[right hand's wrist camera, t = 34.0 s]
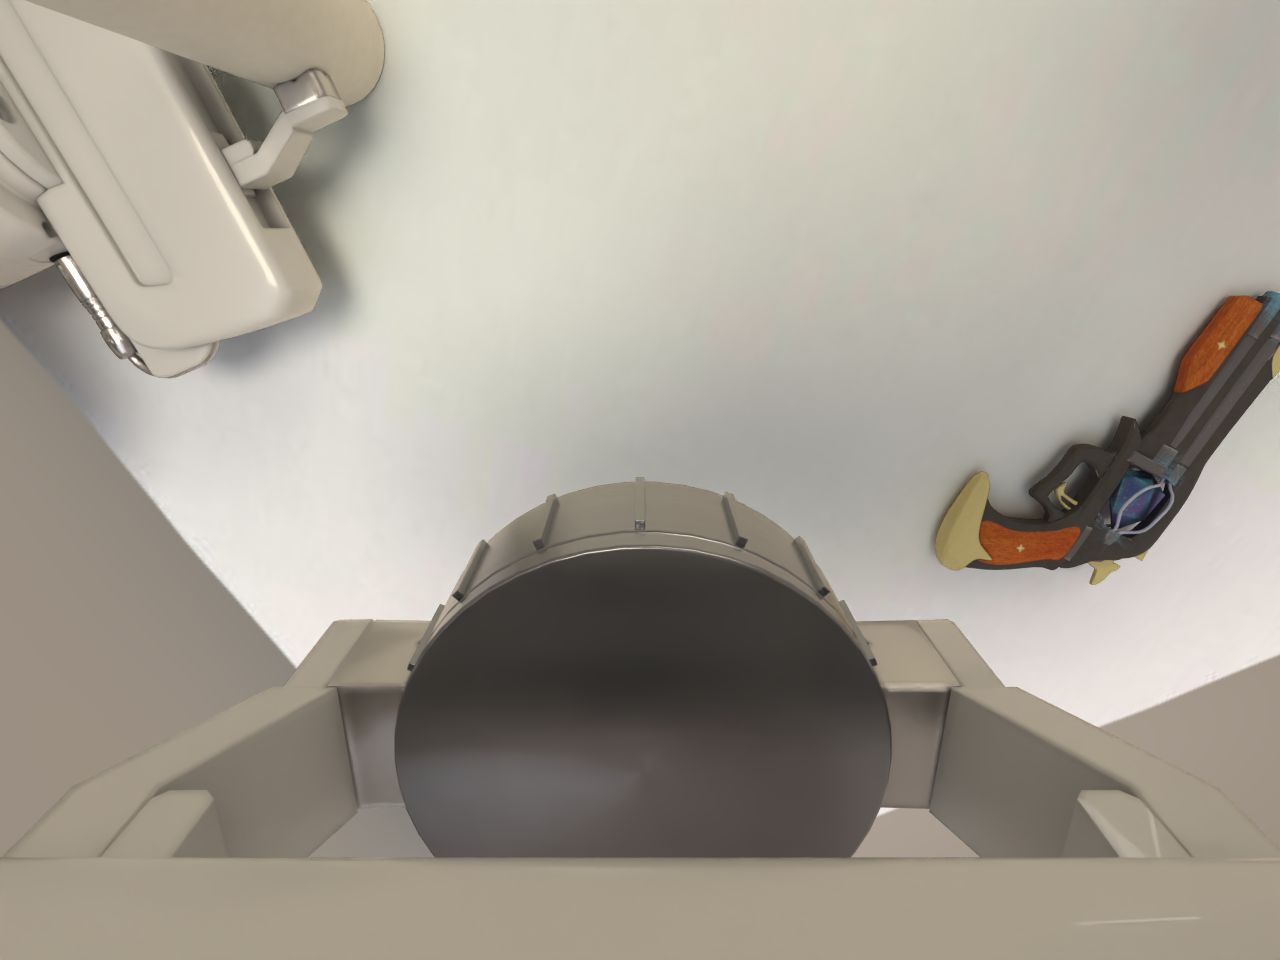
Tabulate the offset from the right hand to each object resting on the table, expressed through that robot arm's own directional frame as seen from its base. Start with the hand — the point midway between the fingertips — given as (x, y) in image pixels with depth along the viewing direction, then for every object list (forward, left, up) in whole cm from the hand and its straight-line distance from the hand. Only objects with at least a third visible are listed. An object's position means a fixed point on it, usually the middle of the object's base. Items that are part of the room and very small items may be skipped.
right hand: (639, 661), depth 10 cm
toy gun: (-24, -5, -27) cm, 37 cm away
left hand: (+17, -7, -22) cm, 29 cm away
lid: (0, 0, +2) cm, 2 cm away
